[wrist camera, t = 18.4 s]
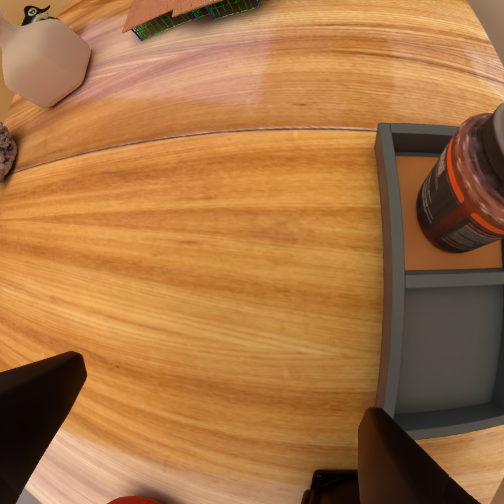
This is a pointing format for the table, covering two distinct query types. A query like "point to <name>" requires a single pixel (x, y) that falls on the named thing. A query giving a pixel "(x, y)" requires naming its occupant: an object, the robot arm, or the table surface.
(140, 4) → the house
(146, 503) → the fruit
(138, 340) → the table surface
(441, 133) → the tray
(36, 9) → the figurine
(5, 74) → the beige ceramic bottle
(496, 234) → the supplement bottle
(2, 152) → the mineral specimen
